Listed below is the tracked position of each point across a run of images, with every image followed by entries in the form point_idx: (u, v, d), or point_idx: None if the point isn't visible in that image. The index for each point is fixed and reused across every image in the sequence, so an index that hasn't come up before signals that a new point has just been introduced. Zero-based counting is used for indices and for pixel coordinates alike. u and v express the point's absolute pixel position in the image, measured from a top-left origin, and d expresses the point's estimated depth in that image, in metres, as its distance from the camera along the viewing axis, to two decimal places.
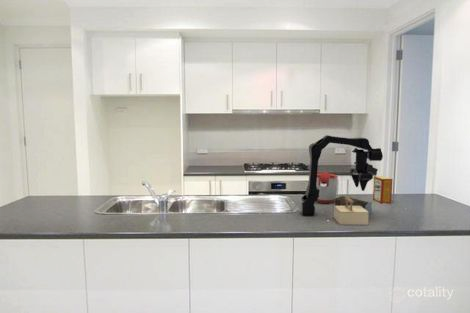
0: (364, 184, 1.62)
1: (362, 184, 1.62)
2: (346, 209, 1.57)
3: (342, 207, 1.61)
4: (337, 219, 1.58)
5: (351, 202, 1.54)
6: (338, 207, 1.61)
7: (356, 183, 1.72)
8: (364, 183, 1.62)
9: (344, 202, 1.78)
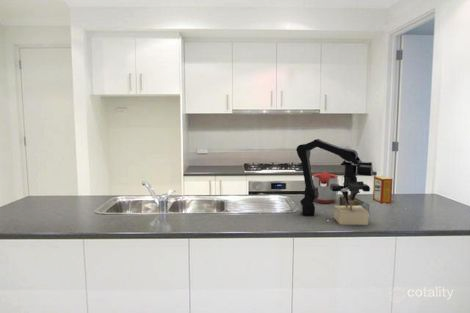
0: (345, 197, 1.58)
1: (344, 196, 1.59)
2: (346, 209, 1.57)
3: (342, 207, 1.61)
4: (337, 219, 1.58)
5: (351, 202, 1.54)
6: (338, 207, 1.61)
7: None
8: (345, 196, 1.58)
9: (344, 201, 1.81)
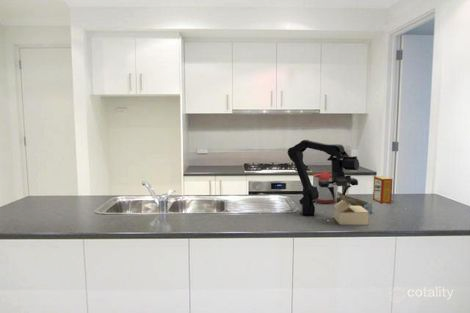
0: (331, 192, 1.58)
1: None
2: (344, 204, 1.57)
3: (340, 204, 1.61)
4: (337, 219, 1.58)
5: (343, 197, 1.54)
6: (337, 206, 1.61)
7: None
8: (331, 191, 1.58)
9: None
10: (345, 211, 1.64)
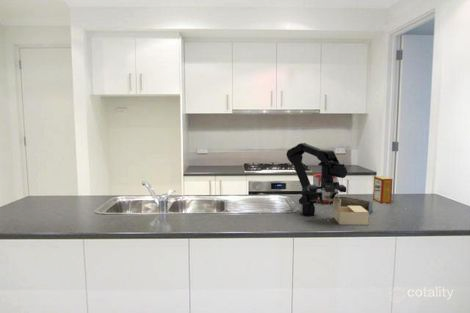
0: (319, 197, 1.58)
1: (319, 197, 1.59)
2: (337, 202, 1.57)
3: (335, 202, 1.61)
4: (337, 219, 1.58)
5: (330, 200, 1.54)
6: (334, 206, 1.61)
7: None
8: None
9: (346, 202, 1.77)
10: (345, 211, 1.64)
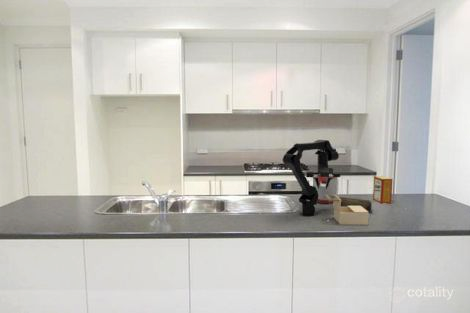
0: (316, 182, 1.75)
1: (316, 182, 1.76)
2: (337, 202, 1.57)
3: (335, 202, 1.61)
4: (337, 219, 1.58)
5: (330, 200, 1.54)
6: (334, 206, 1.61)
7: None
8: (316, 181, 1.75)
9: (348, 203, 1.76)
10: (345, 211, 1.64)
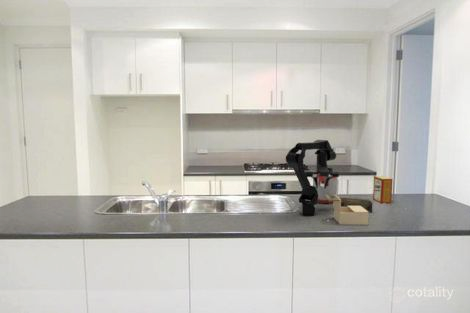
0: (315, 182, 1.77)
1: (314, 181, 1.78)
2: (337, 202, 1.57)
3: (335, 202, 1.61)
4: (337, 219, 1.58)
5: (330, 200, 1.54)
6: (334, 206, 1.61)
7: (324, 184, 1.77)
8: (315, 181, 1.77)
9: (349, 203, 1.75)
10: (345, 211, 1.64)
